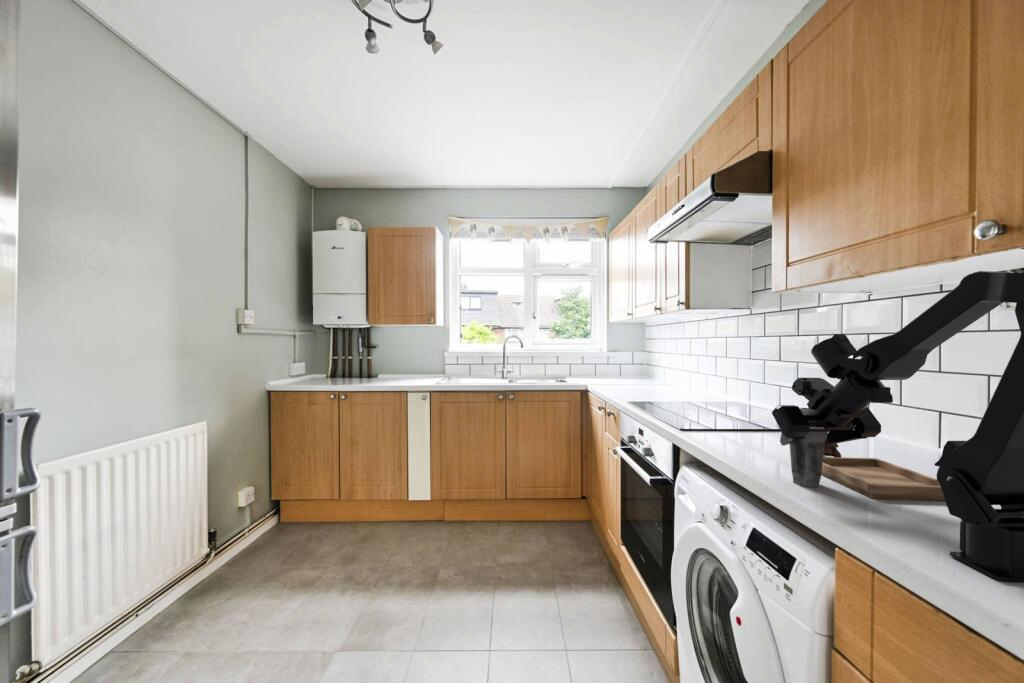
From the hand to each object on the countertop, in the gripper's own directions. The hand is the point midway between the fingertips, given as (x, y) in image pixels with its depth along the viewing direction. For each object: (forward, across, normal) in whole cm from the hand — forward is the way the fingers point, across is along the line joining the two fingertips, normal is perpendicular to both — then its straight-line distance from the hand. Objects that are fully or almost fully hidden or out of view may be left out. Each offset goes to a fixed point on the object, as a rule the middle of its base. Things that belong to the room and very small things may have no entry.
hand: (802, 443), depth 90 cm
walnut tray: (+5, -15, +6) cm, 17 cm away
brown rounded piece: (+18, -17, -6) cm, 26 cm away
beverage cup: (+5, 0, +7) cm, 8 cm away
